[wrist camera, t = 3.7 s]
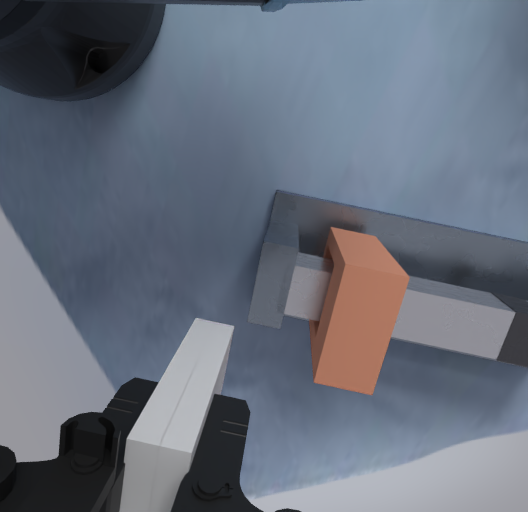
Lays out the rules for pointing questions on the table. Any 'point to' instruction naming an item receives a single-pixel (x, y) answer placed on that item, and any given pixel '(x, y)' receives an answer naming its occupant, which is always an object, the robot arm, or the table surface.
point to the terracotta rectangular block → (356, 312)
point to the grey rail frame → (417, 268)
